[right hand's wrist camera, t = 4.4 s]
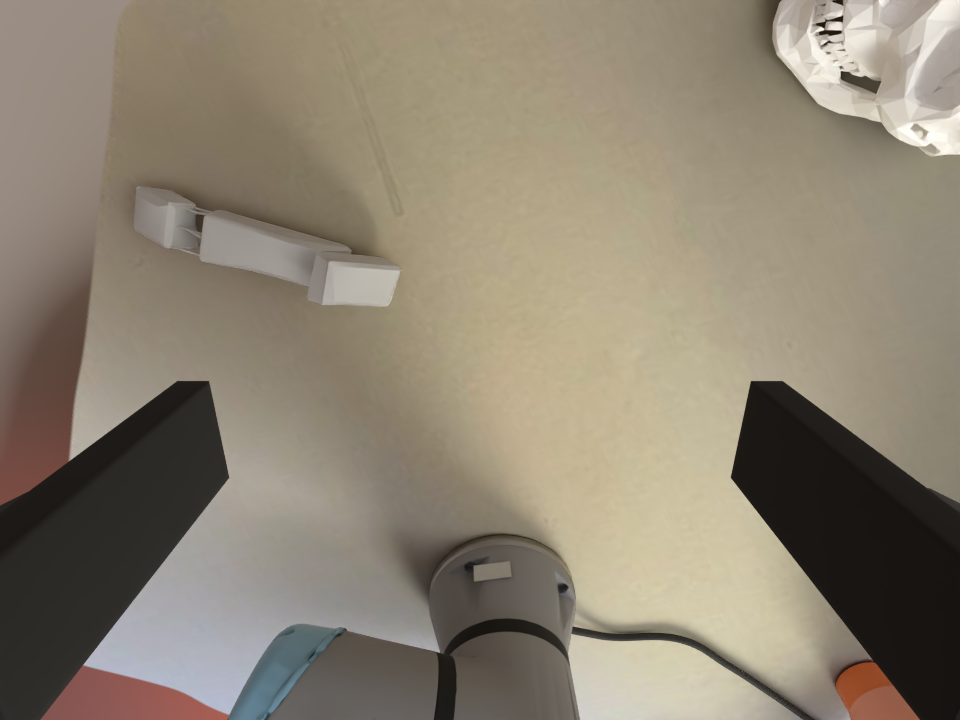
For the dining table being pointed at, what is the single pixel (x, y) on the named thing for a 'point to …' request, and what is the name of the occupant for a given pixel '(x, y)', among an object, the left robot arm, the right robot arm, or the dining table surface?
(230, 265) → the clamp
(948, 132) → the skull
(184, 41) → the dining table surface
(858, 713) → the cup with straw
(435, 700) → the right robot arm
